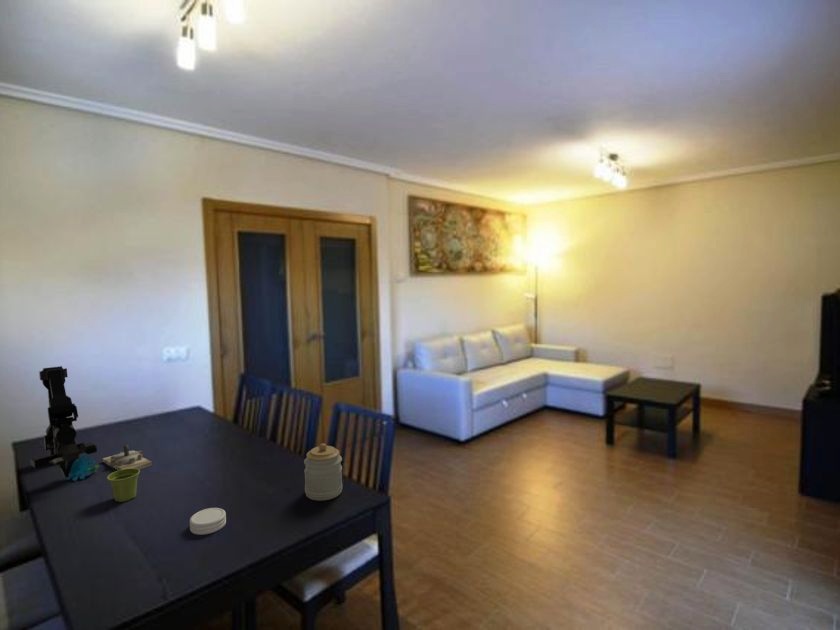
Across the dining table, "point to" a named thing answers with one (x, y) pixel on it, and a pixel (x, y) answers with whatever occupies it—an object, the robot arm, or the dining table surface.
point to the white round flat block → (207, 521)
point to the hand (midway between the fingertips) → (66, 477)
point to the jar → (323, 473)
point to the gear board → (135, 465)
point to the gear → (82, 468)
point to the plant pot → (124, 483)
